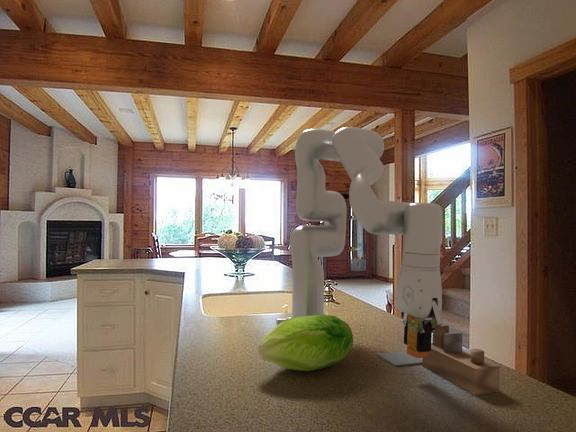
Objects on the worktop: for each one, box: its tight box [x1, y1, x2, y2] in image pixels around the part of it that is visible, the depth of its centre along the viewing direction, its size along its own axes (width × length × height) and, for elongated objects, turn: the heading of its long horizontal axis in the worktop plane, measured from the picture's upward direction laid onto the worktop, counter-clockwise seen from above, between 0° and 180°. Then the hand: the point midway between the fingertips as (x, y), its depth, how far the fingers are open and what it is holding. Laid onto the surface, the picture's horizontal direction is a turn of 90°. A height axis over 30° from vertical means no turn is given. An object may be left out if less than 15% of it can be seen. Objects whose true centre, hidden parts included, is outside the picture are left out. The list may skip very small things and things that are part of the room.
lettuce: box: [257, 314, 354, 372], centre depth 88 cm, size 13×23×12 cm, turn 115°
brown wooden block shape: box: [421, 322, 501, 396], centre depth 84 cm, size 6×16×10 cm, turn 18°
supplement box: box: [406, 315, 428, 359], centre depth 83 cm, size 3×4×10 cm
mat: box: [376, 350, 422, 368], centre depth 95 cm, size 8×8×1 cm
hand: (417, 346), depth 84 cm, fingers closed on supplement box, 3 cm apart
